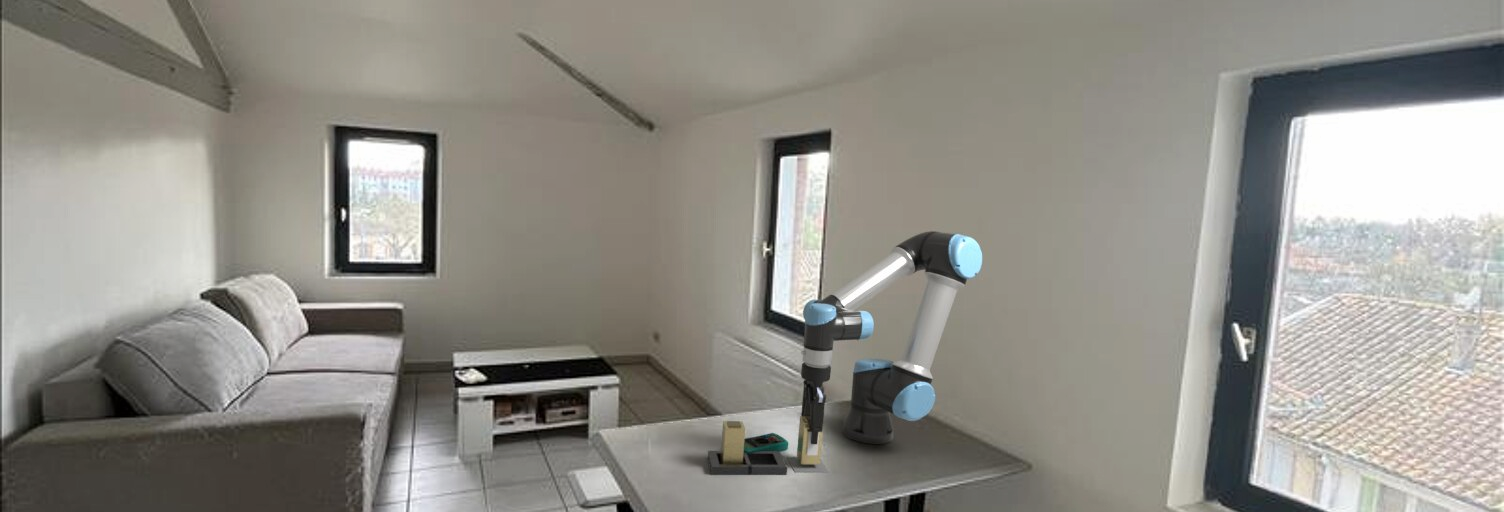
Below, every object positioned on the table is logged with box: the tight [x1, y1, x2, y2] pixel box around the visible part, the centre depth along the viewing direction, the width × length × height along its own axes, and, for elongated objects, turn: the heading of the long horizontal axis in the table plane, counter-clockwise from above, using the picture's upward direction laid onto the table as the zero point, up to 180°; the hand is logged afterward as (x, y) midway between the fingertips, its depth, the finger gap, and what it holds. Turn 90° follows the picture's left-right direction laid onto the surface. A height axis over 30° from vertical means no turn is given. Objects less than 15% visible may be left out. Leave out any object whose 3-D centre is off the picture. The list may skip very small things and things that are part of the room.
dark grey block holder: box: [707, 450, 788, 476], centre depth 174 cm, size 19×10×2 cm, turn 100°
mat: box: [786, 456, 830, 474], centre depth 178 cm, size 9×9×1 cm
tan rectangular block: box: [796, 416, 824, 464], centre depth 177 cm, size 5×5×11 cm
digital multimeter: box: [744, 432, 789, 452], centre depth 185 cm, size 7×15×3 cm, turn 127°
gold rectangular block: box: [720, 420, 746, 465], centre depth 173 cm, size 5×5×11 cm
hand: (809, 450), depth 177 cm, fingers closed on tan rectangular block, 5 cm apart
